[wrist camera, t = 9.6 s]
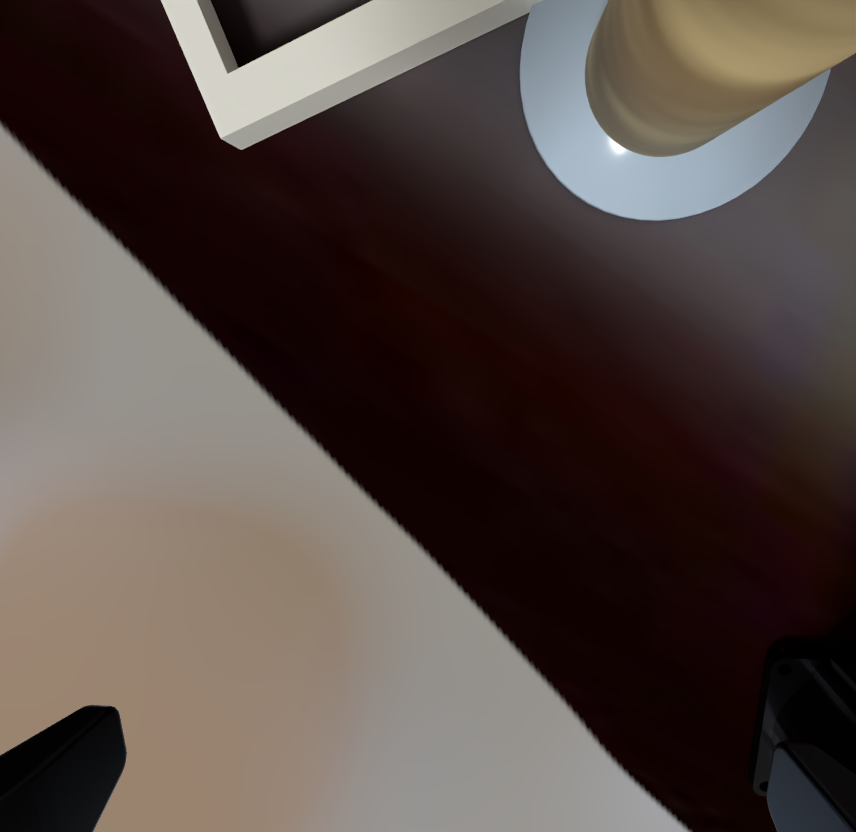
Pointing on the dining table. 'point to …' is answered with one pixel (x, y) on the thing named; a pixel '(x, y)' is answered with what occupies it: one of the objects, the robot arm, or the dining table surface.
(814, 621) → the dining table surface
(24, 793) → the robot arm
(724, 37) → the plug
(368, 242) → the dining table surface
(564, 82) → the coaster
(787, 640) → the dining table surface
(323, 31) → the holder
